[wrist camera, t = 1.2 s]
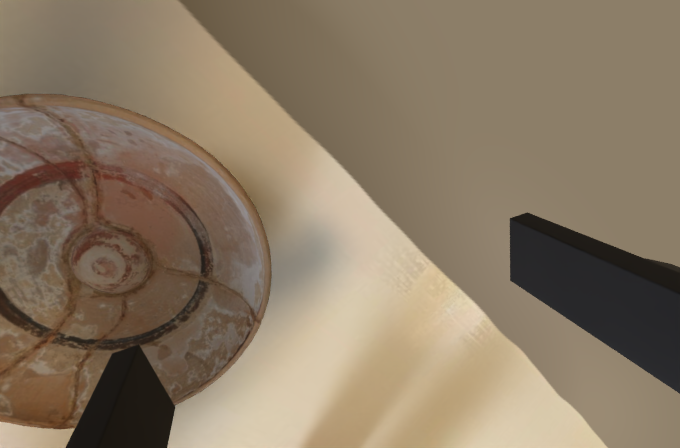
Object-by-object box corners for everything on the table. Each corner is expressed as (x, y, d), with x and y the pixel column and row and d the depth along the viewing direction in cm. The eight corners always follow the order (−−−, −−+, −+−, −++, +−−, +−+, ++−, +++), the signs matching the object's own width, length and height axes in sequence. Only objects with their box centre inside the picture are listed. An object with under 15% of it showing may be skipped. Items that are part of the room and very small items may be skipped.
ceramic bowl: (-177, 296, 22) (-285, 347, 17) (43, 9, 20) (-12, -17, 16) (155, 418, 32) (142, 471, 27) (322, 231, 30) (337, 254, 26)
